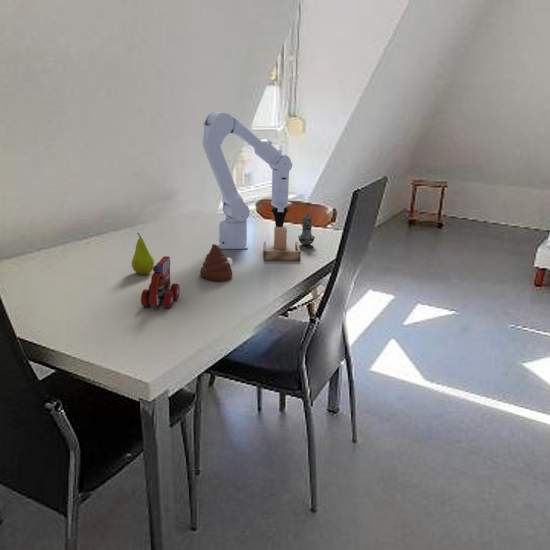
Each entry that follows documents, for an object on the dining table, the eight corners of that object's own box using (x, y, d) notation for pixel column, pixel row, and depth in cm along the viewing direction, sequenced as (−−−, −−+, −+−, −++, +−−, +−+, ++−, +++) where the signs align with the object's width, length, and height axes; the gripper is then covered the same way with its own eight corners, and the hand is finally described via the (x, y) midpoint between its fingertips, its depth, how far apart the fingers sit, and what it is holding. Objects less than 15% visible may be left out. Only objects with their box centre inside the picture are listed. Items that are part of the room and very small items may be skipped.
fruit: (159, 272, 139) (157, 231, 135) (144, 278, 134) (140, 236, 130) (143, 268, 142) (140, 228, 139) (127, 274, 137) (123, 232, 133)
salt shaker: (308, 250, 165) (310, 215, 161) (294, 247, 168) (295, 212, 164) (317, 246, 169) (319, 212, 165) (303, 243, 173) (305, 210, 169)
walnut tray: (263, 260, 152) (264, 251, 151) (263, 250, 164) (263, 241, 163) (300, 260, 153) (300, 251, 152) (297, 250, 164) (297, 241, 163)
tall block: (274, 249, 164) (274, 229, 162) (274, 246, 168) (274, 226, 166) (286, 249, 165) (286, 229, 162) (285, 246, 168) (286, 226, 166)
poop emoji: (193, 275, 138) (192, 243, 135) (218, 269, 143) (218, 238, 140) (214, 284, 131) (214, 251, 128) (239, 278, 136) (239, 246, 133)
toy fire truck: (138, 312, 112) (135, 269, 109) (155, 293, 124) (152, 253, 121) (167, 313, 112) (165, 270, 108) (182, 294, 123) (180, 255, 120)
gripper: (293, 193, 162) (291, 233, 166) (290, 186, 176) (289, 223, 180) (271, 193, 162) (271, 233, 166) (270, 186, 175) (270, 223, 180)
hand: (279, 228), depth 173 cm, fingers closed
